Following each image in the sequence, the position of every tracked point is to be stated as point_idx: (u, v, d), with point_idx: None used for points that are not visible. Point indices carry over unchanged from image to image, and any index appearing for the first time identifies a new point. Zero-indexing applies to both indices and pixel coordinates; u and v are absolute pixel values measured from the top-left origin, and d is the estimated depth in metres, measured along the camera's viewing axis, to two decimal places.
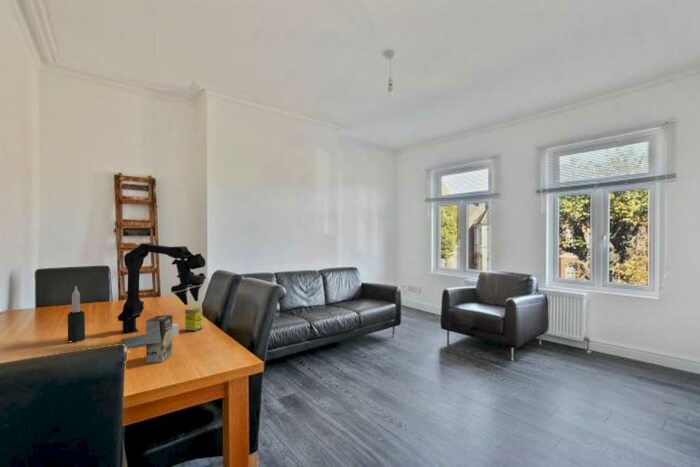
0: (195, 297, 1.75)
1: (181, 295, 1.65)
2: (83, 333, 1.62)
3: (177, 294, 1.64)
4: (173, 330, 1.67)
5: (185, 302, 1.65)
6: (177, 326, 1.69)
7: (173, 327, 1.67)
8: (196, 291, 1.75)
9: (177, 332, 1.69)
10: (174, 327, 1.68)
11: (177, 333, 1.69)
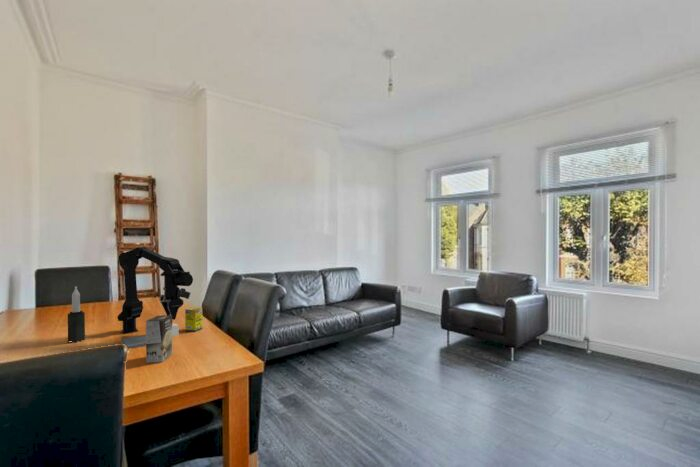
0: (168, 311, 1.72)
1: (173, 309, 1.64)
2: (83, 333, 1.62)
3: (170, 308, 1.63)
4: (173, 330, 1.67)
5: (174, 317, 1.65)
6: (177, 326, 1.69)
7: (173, 327, 1.67)
8: None
9: (177, 332, 1.69)
10: (174, 327, 1.68)
11: (177, 333, 1.69)
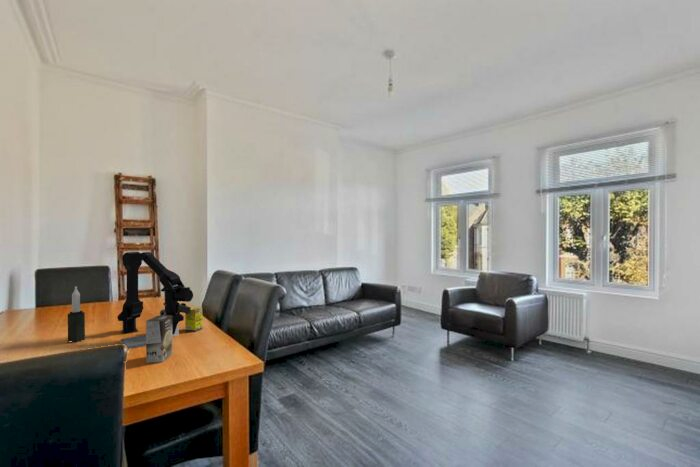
0: None
1: (172, 324, 1.66)
2: (83, 333, 1.62)
3: None
4: None
5: (173, 332, 1.67)
6: (177, 326, 1.69)
7: None
8: None
9: (177, 332, 1.69)
10: None
11: (177, 333, 1.69)
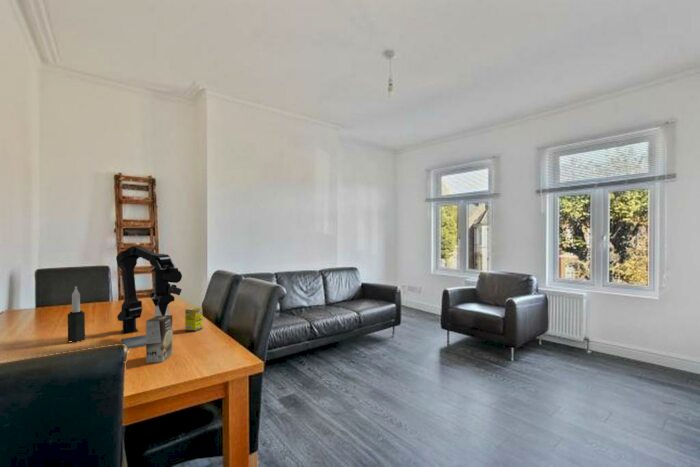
0: None
1: (162, 305, 1.62)
2: (83, 333, 1.62)
3: (159, 304, 1.61)
4: None
5: (163, 313, 1.63)
6: (168, 307, 1.65)
7: None
8: None
9: (167, 313, 1.65)
10: None
11: (167, 314, 1.65)
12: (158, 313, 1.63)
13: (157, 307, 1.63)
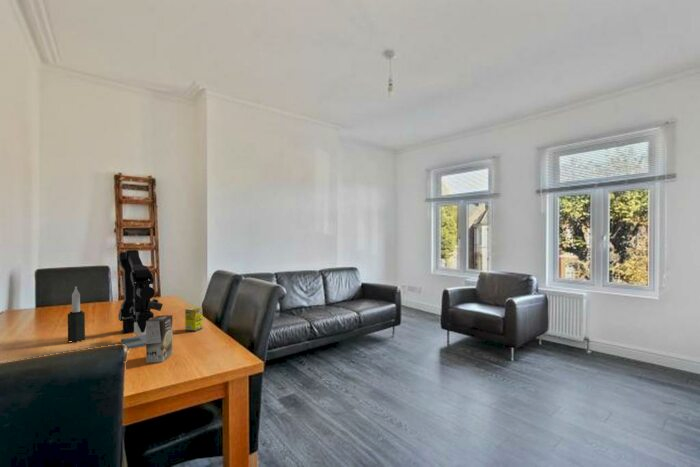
0: None
1: (141, 322, 1.56)
2: (83, 333, 1.62)
3: (138, 320, 1.54)
4: None
5: (143, 330, 1.57)
6: None
7: None
8: None
9: None
10: None
11: None
12: (137, 330, 1.56)
13: (136, 324, 1.56)
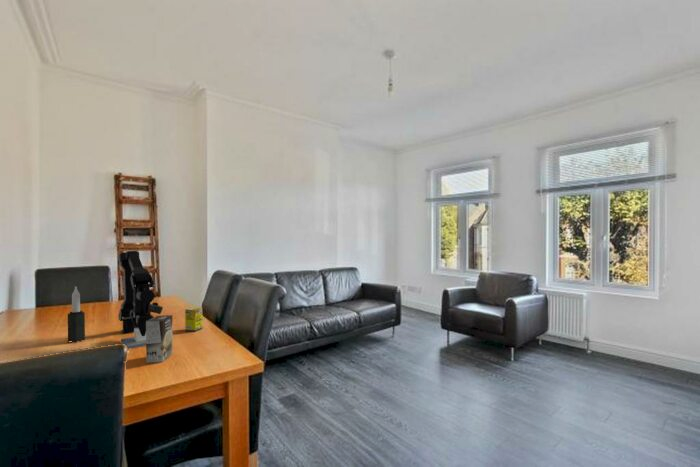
0: None
1: (142, 325, 1.55)
2: (83, 333, 1.62)
3: (139, 324, 1.54)
4: None
5: (143, 333, 1.56)
6: None
7: None
8: None
9: None
10: None
11: None
12: (138, 336, 1.56)
13: (136, 330, 1.56)
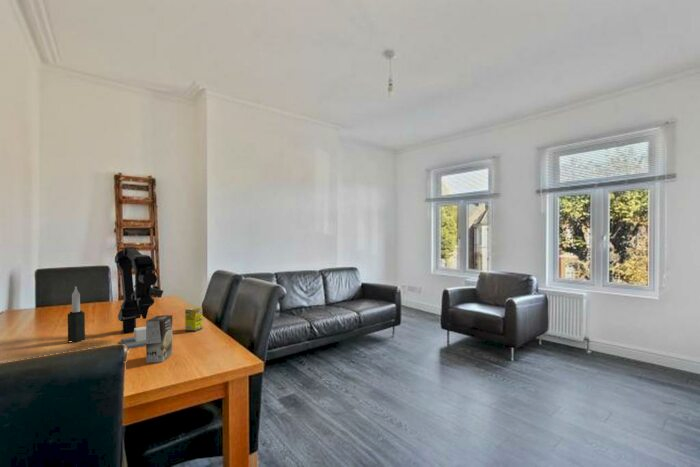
0: (140, 310, 1.66)
1: (143, 308, 1.58)
2: (83, 333, 1.62)
3: (140, 307, 1.56)
4: (143, 334, 1.57)
5: (144, 316, 1.59)
6: None
7: (143, 330, 1.57)
8: None
9: None
10: (144, 330, 1.58)
11: None
12: (138, 336, 1.56)
13: (136, 330, 1.56)
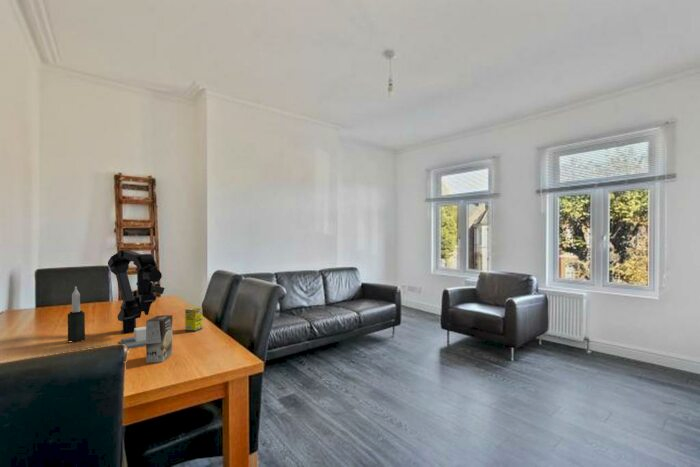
0: (142, 307, 1.71)
1: (145, 305, 1.63)
2: (83, 333, 1.62)
3: (142, 303, 1.61)
4: (143, 334, 1.57)
5: (147, 312, 1.64)
6: None
7: (143, 330, 1.57)
8: None
9: None
10: (144, 330, 1.58)
11: None
12: (138, 336, 1.56)
13: (136, 330, 1.56)
